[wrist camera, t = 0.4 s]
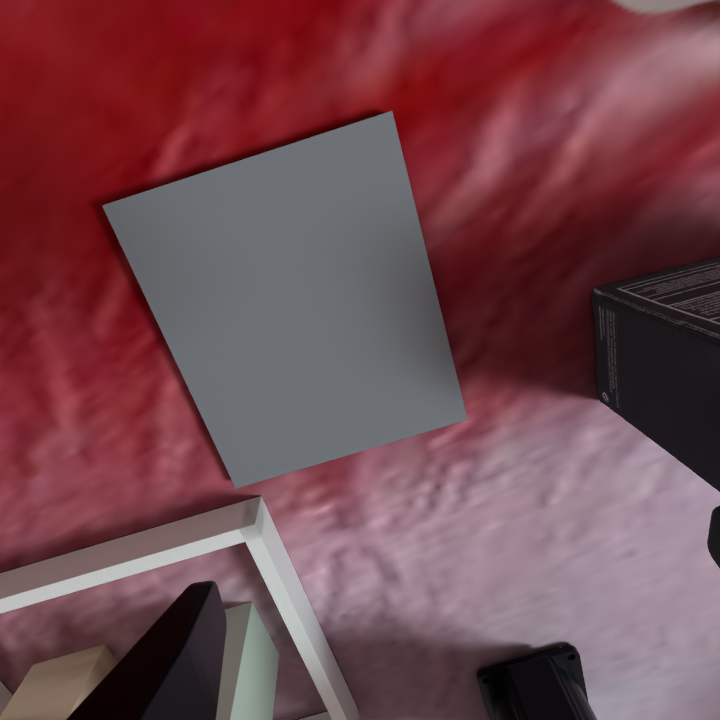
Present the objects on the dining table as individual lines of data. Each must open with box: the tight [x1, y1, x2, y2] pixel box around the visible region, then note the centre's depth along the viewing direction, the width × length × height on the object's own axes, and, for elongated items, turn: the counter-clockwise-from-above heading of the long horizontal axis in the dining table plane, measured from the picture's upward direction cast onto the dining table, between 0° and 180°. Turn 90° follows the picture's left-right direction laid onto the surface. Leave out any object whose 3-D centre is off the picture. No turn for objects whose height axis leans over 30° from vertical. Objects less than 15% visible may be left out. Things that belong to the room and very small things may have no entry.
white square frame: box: [0, 496, 359, 720], centre depth 26 cm, size 18×20×2 cm
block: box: [216, 602, 279, 720], centre depth 24 cm, size 4×4×7 cm
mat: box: [102, 111, 468, 488], centre depth 21 cm, size 14×12×1 cm
